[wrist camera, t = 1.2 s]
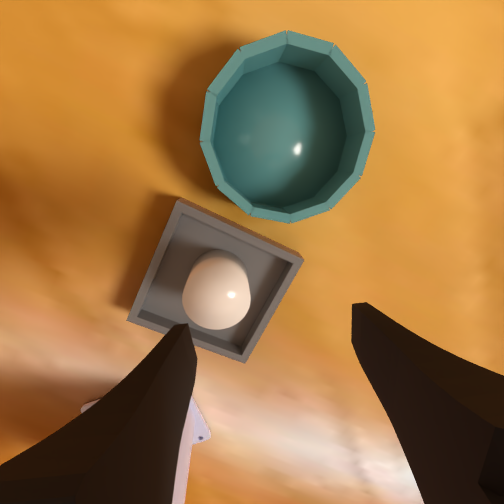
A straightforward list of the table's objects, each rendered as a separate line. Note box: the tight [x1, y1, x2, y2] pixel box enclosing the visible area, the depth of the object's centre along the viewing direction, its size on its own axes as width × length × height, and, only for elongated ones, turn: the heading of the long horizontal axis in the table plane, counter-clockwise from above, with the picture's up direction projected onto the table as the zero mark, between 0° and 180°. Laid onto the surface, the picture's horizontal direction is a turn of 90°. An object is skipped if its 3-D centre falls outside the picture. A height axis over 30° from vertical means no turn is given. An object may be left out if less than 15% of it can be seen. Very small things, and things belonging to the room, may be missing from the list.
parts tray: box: [126, 197, 304, 363], centre depth 22 cm, size 10×10×2 cm
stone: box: [182, 250, 251, 330], centre depth 20 cm, size 4×4×4 cm
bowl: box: [200, 30, 375, 223], centre depth 18 cm, size 10×10×3 cm
